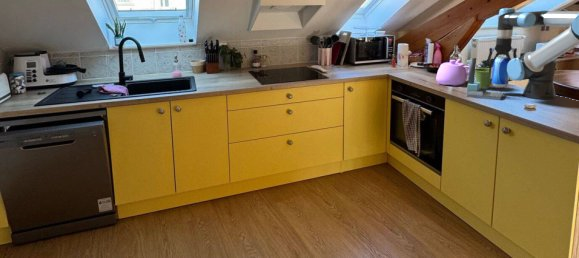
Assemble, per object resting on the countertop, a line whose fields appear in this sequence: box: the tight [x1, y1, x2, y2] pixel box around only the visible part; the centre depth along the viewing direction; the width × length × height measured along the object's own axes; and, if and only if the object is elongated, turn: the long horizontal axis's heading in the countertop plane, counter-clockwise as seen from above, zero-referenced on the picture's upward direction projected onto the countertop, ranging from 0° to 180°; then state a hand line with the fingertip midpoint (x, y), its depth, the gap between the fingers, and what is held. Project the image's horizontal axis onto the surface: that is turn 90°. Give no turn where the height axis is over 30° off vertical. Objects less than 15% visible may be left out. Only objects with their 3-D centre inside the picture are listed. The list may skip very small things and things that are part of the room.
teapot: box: [435, 58, 470, 87], centre depth 270 cm, size 23×21×15 cm
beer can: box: [491, 55, 510, 88], centre depth 238 cm, size 8×8×16 cm
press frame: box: [466, 88, 505, 101], centre depth 237 cm, size 17×11×4 cm, turn 56°
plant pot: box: [475, 67, 492, 90], centre depth 255 cm, size 12×12×11 cm
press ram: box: [466, 57, 480, 92], centre depth 238 cm, size 6×8×19 cm
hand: (500, 78), depth 239 cm, fingers closed on beer can, 8 cm apart
